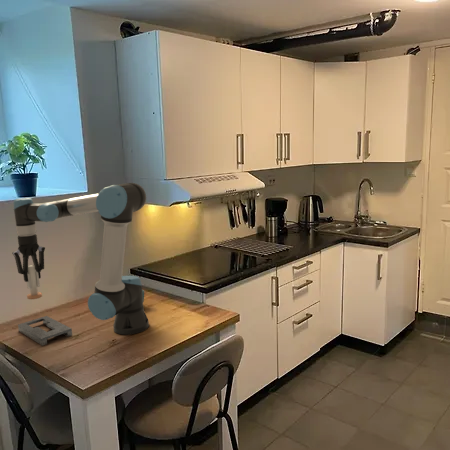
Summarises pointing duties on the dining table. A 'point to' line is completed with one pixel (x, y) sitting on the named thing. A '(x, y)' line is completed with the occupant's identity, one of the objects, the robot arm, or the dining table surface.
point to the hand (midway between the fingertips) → (33, 287)
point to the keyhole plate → (42, 335)
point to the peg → (33, 284)
